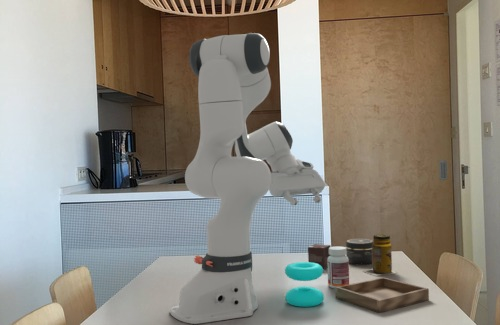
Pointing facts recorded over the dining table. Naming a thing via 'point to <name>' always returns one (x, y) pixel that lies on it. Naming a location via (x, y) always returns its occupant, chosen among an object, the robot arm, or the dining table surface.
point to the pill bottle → (338, 267)
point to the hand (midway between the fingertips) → (307, 202)
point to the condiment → (381, 256)
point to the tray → (382, 294)
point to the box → (319, 254)
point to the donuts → (304, 294)
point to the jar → (359, 251)
